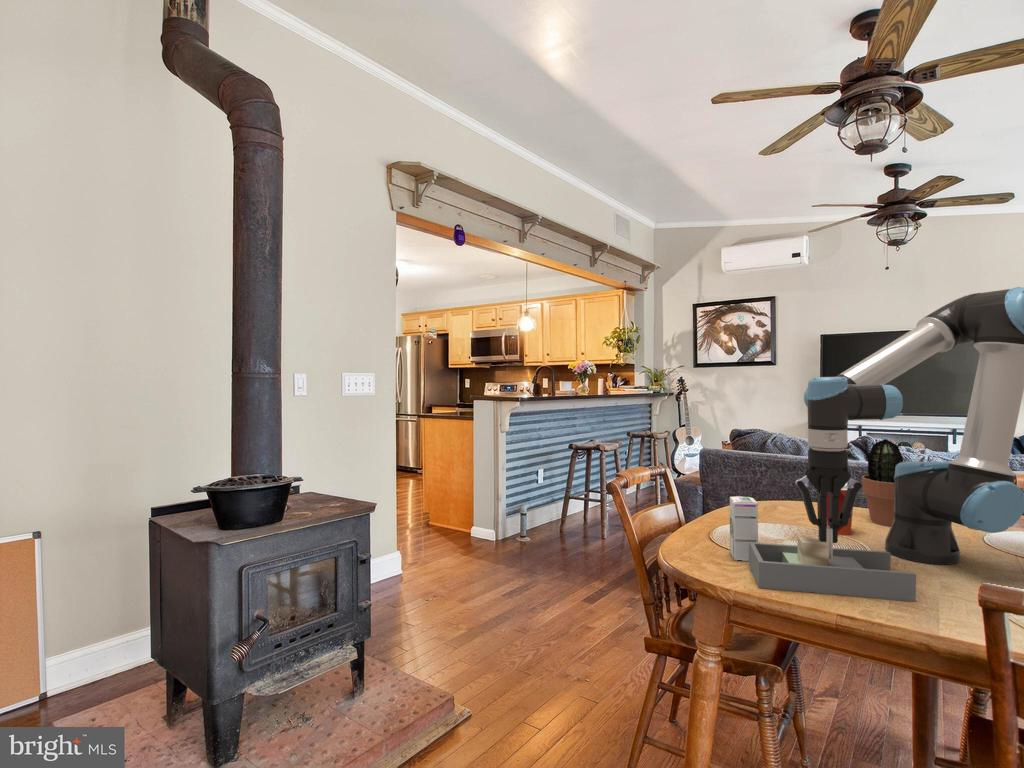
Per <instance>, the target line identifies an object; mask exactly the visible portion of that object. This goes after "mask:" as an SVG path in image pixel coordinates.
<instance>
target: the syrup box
mask: <svg viewBox="0 0 1024 768" xmlns="http://www.w3.org/2000/svg"><path fill="white" fill-rule="evenodd" d="M758 504H759V503H758V502H757V501H756V500H755V498H754V497H752V496H751V497H750V496H742V495H741V496H739V495H738V496H737V495H736V496H729V554H730V555H731V558H732V559H733V561H737V560H742V561H741V562H749V542H753V543H759V525H758V523H759V521H758V519H759V516H758V515H759V514H758V511H759V510H758V509H759V508H758V507H759V506H758Z"/></svg>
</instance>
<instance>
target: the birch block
mask: <svg viewBox="0 0 1024 768" xmlns="http://www.w3.org/2000/svg"><path fill="white" fill-rule="evenodd" d="M797 552H798V560H799V561H800V562H801V564H809V565H822V566H829V544H828V543H827V542H821V541H820V540H819V536H807V535H806V536H804V535H797Z"/></svg>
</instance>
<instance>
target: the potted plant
mask: <svg viewBox="0 0 1024 768" xmlns="http://www.w3.org/2000/svg"><path fill="white" fill-rule="evenodd" d="M901 462H904V458H903V456H902V453H901V451H900V448H899V445H897V444H896V443H893V441H890V440H889V439H887V438H885V439H883V440H880V441H877V442H874V443H873V444H872V447H871V448H870V451H869V454H868V455H867V473H868V474H863V475H862V476H861V478H862V479H861V481H862V482H861V484H862V493H863V494H864V495H865V498H866V504H867V508H868V514H869V517H870V518H869V519H870V521H871V522H872V523H874V524H876V525H880V526H887V527H891V525H892V523H893V520H894V476H895V467H896V465H897V464H899V463H901Z"/></svg>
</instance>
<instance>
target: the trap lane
mask: <svg viewBox="0 0 1024 768" xmlns="http://www.w3.org/2000/svg"><path fill="white" fill-rule="evenodd" d="M891 556H892V554H891V553H890V552H887V551H882V550H868V549H867V550H866V549H856V548H855V549H852V548H840V547H839V548H837V547H833V559H829V566H822V565H809V564H801V562H800V561H799V560H798V552H797V545H795V544H793V545H792V544H780V543H778V544H777V543H769V542H768V543H766V542H758V543H753V542H749V561H748V567H749V566H750V567H749V568H750V571H751V573H753V574H752V576H753V578H754V580H755V582H756V585H757V587H758V589H765V590H766V589H767V590H769V589H770V590H777V591H778V590H780V591H791V592H800V591H802V593H811V592H815V593H814V594H825V595H834V594H835V596H836V594H838V596H847V597H858V598H867V599H870V598H871V599H879V600H880V599H881V600H882V599H884V600H891V601H892V600H893V601H903V602H904V601H905V602H914V601H915V602H917V600H916V599H917V573H916V572H912V571H900V570H899V571H898V570H897V571H896V570H891V562H892V561H891V559H892V558H891Z"/></svg>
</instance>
